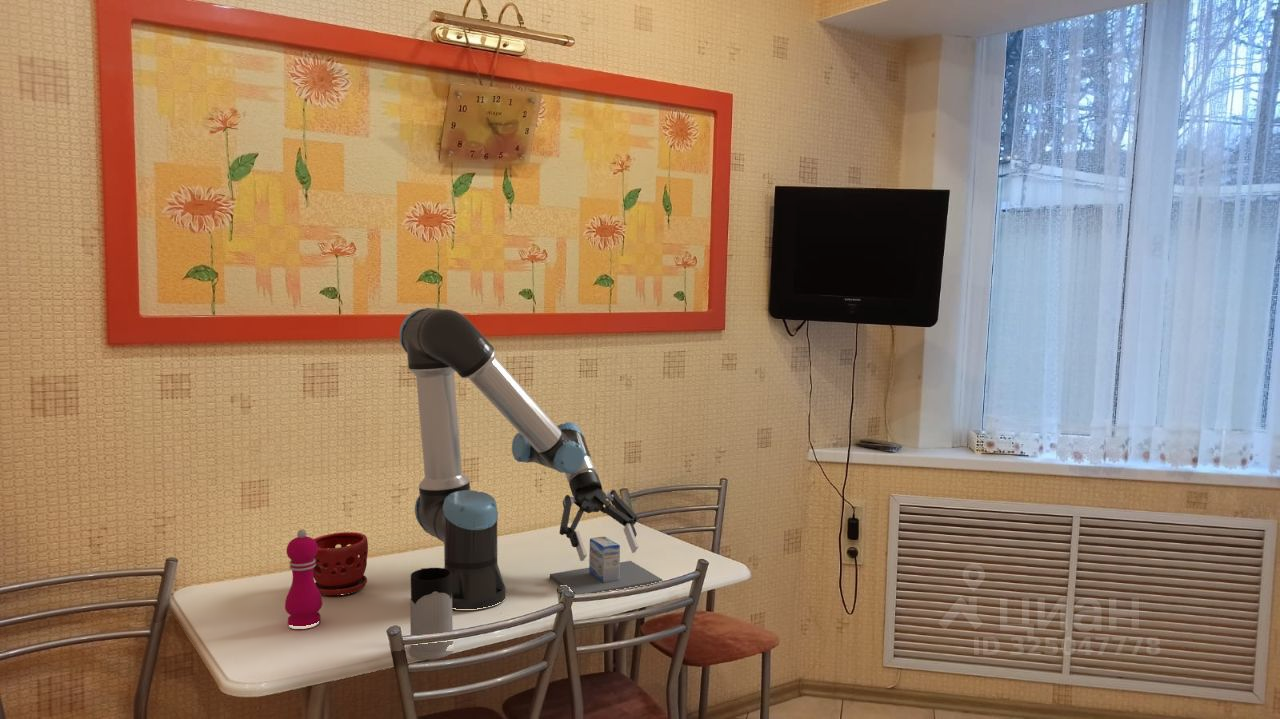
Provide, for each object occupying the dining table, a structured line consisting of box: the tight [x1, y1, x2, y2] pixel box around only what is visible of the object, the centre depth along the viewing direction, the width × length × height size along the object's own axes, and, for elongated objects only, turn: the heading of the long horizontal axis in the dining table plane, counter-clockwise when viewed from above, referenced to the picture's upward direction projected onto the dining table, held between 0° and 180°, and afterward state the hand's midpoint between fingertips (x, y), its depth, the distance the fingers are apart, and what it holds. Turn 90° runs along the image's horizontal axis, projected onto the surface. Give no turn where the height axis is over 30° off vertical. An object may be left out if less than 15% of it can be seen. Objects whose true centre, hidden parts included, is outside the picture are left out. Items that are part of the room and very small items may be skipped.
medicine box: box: [588, 536, 621, 582], centre depth 208 cm, size 8×4×9 cm, turn 29°
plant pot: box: [313, 531, 369, 596], centre depth 201 cm, size 13×13×12 cm
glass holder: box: [408, 567, 455, 660], centre depth 171 cm, size 9×14×15 cm, turn 24°
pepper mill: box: [284, 529, 323, 626], centre depth 180 cm, size 7×7×20 cm
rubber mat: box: [549, 560, 663, 594], centre depth 209 cm, size 22×16×1 cm
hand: (610, 554), depth 206 cm, fingers open, 13 cm apart
